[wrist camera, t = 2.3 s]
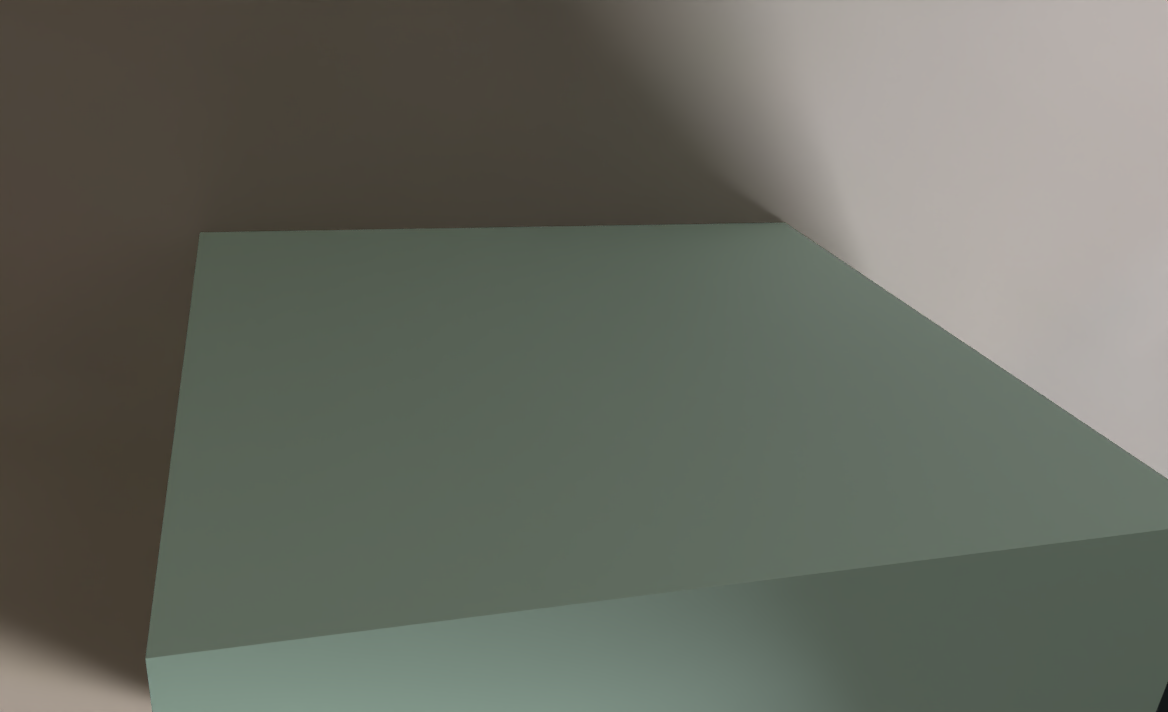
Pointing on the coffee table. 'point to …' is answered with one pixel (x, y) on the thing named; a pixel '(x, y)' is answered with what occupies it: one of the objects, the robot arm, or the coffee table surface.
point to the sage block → (628, 489)
